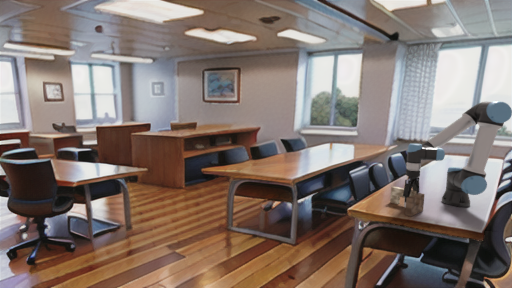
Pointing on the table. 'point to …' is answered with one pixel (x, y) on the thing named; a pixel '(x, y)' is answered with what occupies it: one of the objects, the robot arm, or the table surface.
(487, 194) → the table surface
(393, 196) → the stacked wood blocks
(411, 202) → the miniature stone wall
